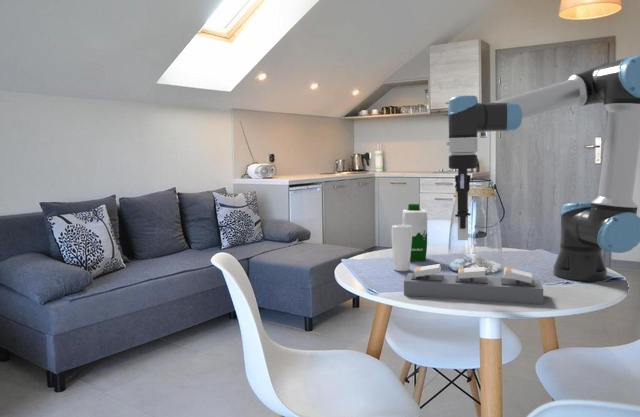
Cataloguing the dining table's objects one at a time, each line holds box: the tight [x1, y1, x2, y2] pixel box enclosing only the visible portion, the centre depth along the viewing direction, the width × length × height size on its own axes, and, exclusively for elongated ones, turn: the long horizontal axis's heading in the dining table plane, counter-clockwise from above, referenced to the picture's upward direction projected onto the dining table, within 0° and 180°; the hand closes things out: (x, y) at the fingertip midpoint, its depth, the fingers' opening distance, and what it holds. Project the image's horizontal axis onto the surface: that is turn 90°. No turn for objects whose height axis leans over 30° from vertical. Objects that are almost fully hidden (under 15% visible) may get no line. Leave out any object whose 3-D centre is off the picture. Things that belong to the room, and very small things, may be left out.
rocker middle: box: [457, 266, 486, 278], centre depth 148 cm, size 7×5×2 cm
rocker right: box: [503, 266, 534, 283], centre depth 145 cm, size 7×5×2 cm
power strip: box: [403, 272, 544, 305], centre depth 149 cm, size 36×10×5 cm, turn 73°
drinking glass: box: [391, 224, 412, 272], centre depth 178 cm, size 7×7×15 cm
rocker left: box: [413, 263, 442, 277], centre depth 152 cm, size 7×5×2 cm
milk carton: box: [402, 203, 428, 262], centre depth 195 cm, size 9×9×20 cm
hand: (462, 239), depth 148 cm, fingers closed
